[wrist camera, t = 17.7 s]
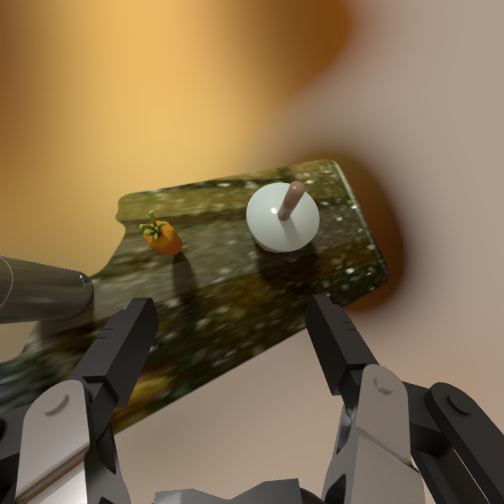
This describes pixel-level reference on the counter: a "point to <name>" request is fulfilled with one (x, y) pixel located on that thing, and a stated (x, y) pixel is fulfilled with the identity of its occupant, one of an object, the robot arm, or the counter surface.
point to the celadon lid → (282, 216)
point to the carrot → (161, 236)
